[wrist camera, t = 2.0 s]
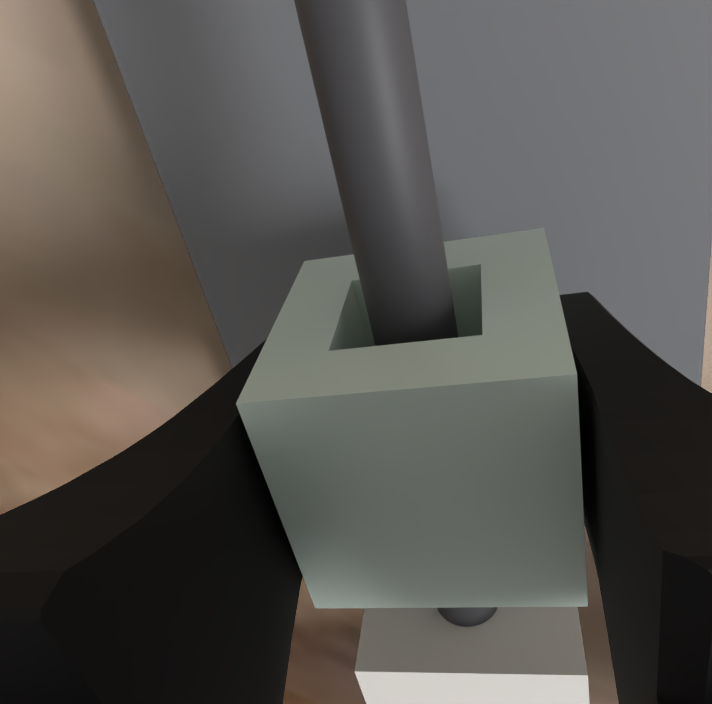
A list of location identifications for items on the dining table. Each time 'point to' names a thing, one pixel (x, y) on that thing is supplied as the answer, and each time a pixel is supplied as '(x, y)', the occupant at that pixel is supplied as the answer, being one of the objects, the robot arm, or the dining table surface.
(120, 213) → the dining table surface
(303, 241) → the cord rig
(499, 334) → the marker sleeve
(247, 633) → the robot arm
